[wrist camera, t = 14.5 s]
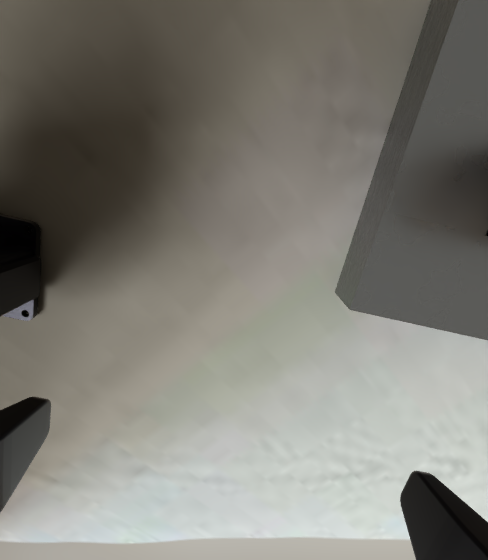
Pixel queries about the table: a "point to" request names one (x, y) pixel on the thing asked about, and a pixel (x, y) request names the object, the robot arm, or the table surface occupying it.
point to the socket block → (431, 187)
